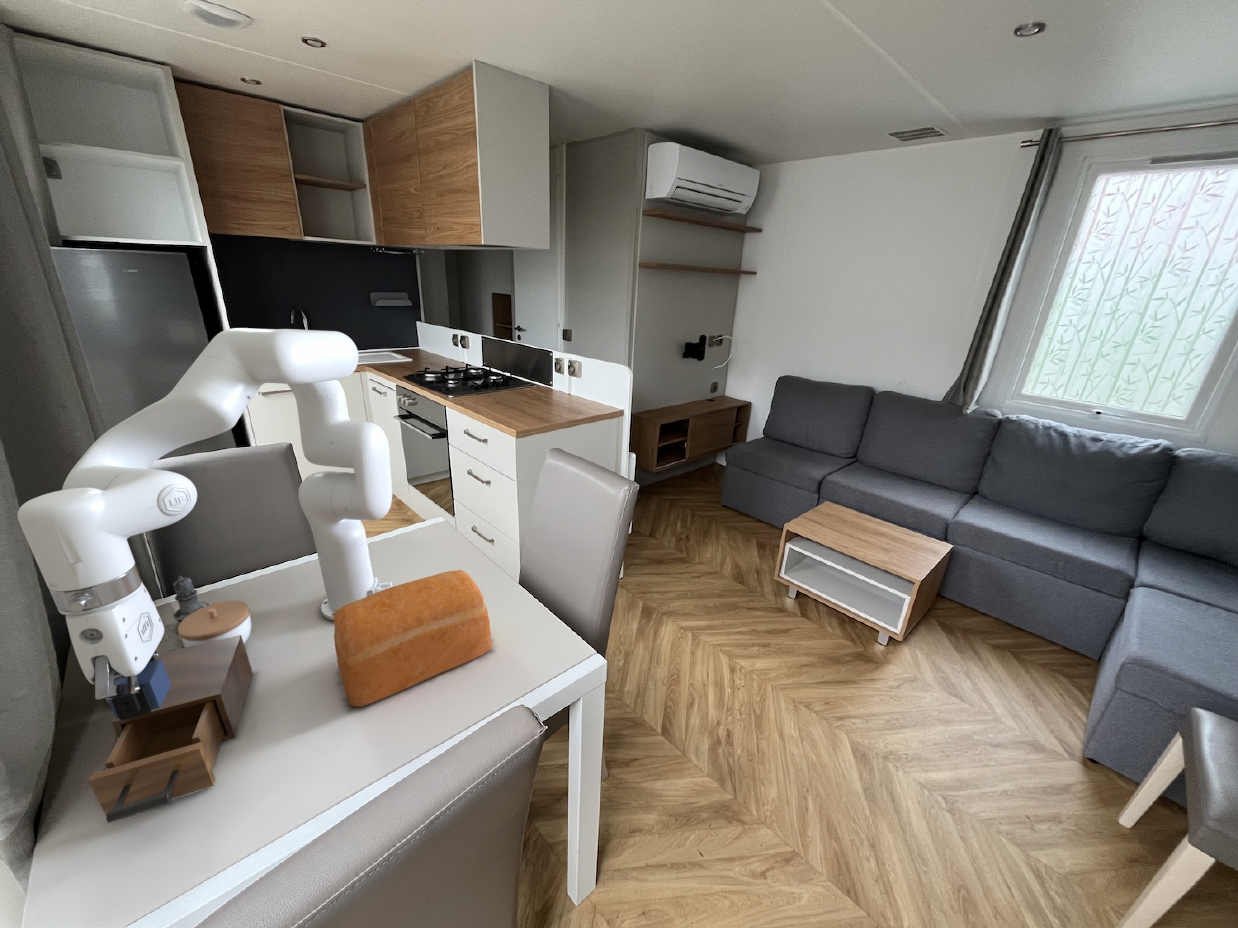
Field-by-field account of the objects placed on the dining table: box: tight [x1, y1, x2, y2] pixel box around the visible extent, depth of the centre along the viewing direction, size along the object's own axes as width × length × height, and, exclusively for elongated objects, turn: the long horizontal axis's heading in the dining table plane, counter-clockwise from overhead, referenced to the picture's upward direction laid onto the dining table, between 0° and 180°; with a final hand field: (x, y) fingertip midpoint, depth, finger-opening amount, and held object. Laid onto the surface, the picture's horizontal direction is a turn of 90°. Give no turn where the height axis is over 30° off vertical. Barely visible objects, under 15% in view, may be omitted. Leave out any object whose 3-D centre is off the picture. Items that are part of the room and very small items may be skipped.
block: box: [108, 660, 171, 719], centre depth 66 cm, size 4×4×4 cm
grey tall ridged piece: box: [172, 575, 210, 624], centre depth 101 cm, size 6×6×12 cm
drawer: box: [87, 700, 225, 824], centre depth 70 cm, size 18×11×7 cm, turn 25°
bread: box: [333, 569, 493, 707], centre depth 92 cm, size 14×26×16 cm, turn 127°
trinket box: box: [177, 600, 253, 648], centre depth 95 cm, size 11×11×9 cm
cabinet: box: [111, 635, 254, 743], centre depth 80 cm, size 15×13×9 cm
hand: (144, 699), depth 67 cm, fingers closed on block, 4 cm apart
